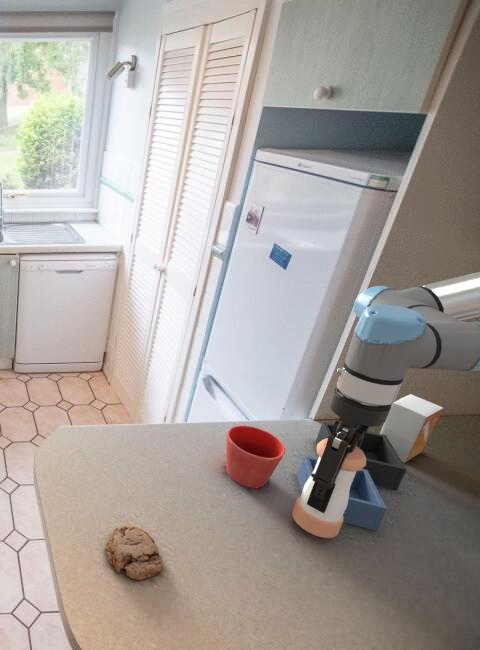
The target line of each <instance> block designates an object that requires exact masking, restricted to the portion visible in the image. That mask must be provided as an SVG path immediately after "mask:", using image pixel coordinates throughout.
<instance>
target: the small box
mask: <svg viewBox="0 0 480 650" xmlns="http://www.w3.org/2000/svg"><path fill="white" fill-rule="evenodd" d="M391 406H392V407H391V410H390V412H389V414H388V417H387V419H386V421H385V423H384V424H382V427H381V430H380V432H379V434H383V435H386V436H387V438H388V440H389V441H390V443H391V445H392V446H393V448H394V449H395V451H396V453H397V454H398V456H399V458H400V459H401V461H402V463H403V464H404V463H407V462H408V461H409V460H411V459H413V458H414V457H416V456H418V455H419V454H421V453H422V452H423V451H424V448H425V446H426V444H427V442H428V440H429V438H430V436H431V434H432V432H433V431H434V428H435V426H436V424H437V422H438V420H439V419H440V417H441V414H442V412H443V410H444V406H440V405H438V404H436V403H433V402H431V401H429V400H426V399H424V398H422V397H419V396H417V395H414V394H411V393H410V394H408V395H405V396H403V397H401V398H399V399H397V400H395V401H394V403H392V404H391Z"/></svg>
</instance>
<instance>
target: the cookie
mask: <svg viewBox="0 0 480 650" xmlns="http://www.w3.org/2000/svg"><path fill="white" fill-rule="evenodd" d="M108 540H109V541H108V542H106V543H105V545H104V551H105V555H106V557H107V560H108V562H109V563H110V565H111V566H112V567H113V568H114V569H115V571H116V572H117V573H118V574H123V575H125V576H127V578H130V579H132V580H136V581H143V580H146V579H150V578H152V577H154V576H157V575H158V574H159V573H160V572H161V571H163V570H162V569H163V566H164V561H163V560H162V557H161V555H160V553H159V548H158V546H157V544H156V542H155V540H154V538H153V537H152V535H151V534H150V533H149V532H147V531H146V530H144V529H142V528H140V527H137V526H134V525H122V526H121V527H120V528H118V527H116V528H115V529H114V530H113V536H111V537H110V538H109V539H108Z"/></svg>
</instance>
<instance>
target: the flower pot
mask: <svg viewBox="0 0 480 650" xmlns="http://www.w3.org/2000/svg"><path fill="white" fill-rule="evenodd" d="M285 453H286V448H285V446H284V443H283V442H282V441H281V440H280V439H279V438H278V437H277V436H275V435H274V434H272V433H270V432H269V431H267V430H264V429H262V428H260V427H256V426H253V425H243V424H241V425H240V424H239V425H235V426H232V427H230V428H229V429H228V430H227V431H226V449H225V460H226V462H225V463H226V464H225V466H226V467H225V470H226V473H227V475H228V477H230V479H231V480H233V481H235V482H236V483H237V484H239V485H240V486H244V487H245V488H246V487H248V488H250V489H259V488H262V487H264V486H265V485H266V484H267V482H268V481H269V480H270V478H271V477H272V475H273V474H274V472H275V470H276V469H277V467H278V466H279V464H280V462H281V460H282V459H283V457H284V455H285Z"/></svg>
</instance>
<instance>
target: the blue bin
mask: <svg viewBox="0 0 480 650" xmlns="http://www.w3.org/2000/svg"><path fill="white" fill-rule="evenodd" d="M318 458H319V457H318ZM318 458H317V457H313V456H308V455H303V458H302V460H301V463H300V466H299V468H298V472H297V475H296V477H297V481H298V484H299V489H300V491H301V492H302V491H303V488H304V485H305V483H306V482H307V480H308V479H309V477H310V476H311V474H312V473H313V471H314V469H315V466H316V464H317V461H318ZM386 511H387V506H386V504H385V502H384V499H383V498H382V496H381V494H380V492H379V490H378V488H377V486H376V485H375V484H374V482H373V480H372V478H371V476H370V474H369V472H368V470H365V469H361V470H359V471H356V474H355V476H354V479H353V481H352V484H351V486H350V491H349V498H348V505H347V507H346V509H345V511H344V514H343V517H344V520H343V523H345V524H350V525H352V526H357V527H361V528H365V529H368V530H371V531H374V532H376V531H377V530H378V528H379V526H380V524H381V522H382V520H383V518H384V516H385V514H386Z"/></svg>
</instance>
